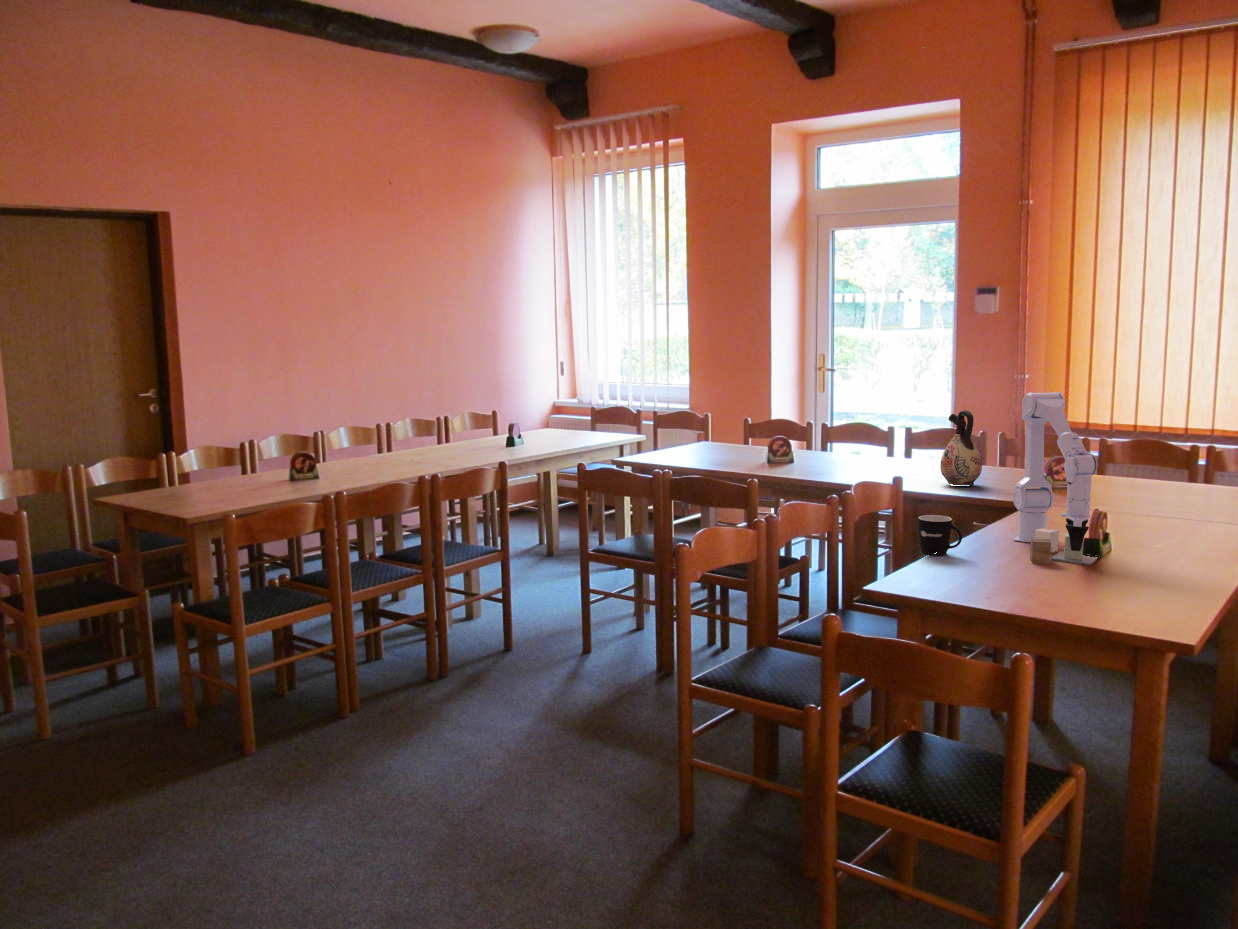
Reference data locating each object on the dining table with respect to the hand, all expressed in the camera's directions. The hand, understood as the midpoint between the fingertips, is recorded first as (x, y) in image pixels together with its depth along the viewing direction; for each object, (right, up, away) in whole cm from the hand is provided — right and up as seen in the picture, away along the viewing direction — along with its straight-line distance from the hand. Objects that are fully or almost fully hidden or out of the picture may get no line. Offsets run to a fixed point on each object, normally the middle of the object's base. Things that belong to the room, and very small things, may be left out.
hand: (1075, 547), depth 267 cm
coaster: (0, -3, 0) cm, 3 cm away
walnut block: (-10, -4, -2) cm, 11 cm away
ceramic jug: (+10, +14, +117) cm, 118 cm away
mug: (-35, -3, +8) cm, 36 cm away
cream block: (-3, -2, +11) cm, 11 cm away
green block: (0, -3, +1) cm, 3 cm away
